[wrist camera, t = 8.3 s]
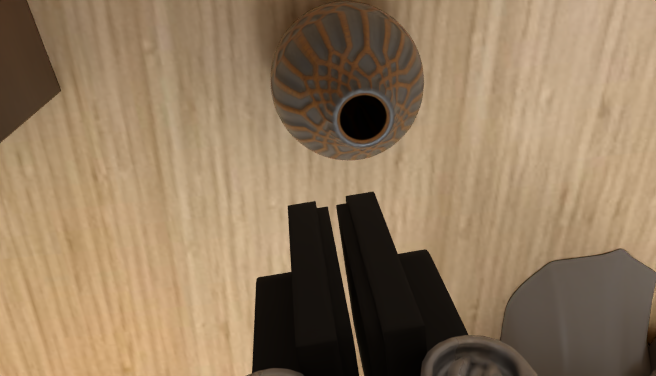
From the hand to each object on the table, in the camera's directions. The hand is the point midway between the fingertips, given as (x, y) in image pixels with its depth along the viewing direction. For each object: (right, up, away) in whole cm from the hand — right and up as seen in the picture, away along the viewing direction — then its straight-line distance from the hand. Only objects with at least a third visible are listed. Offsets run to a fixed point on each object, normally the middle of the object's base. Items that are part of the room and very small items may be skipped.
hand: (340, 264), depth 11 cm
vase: (0, +8, +18) cm, 20 cm away
